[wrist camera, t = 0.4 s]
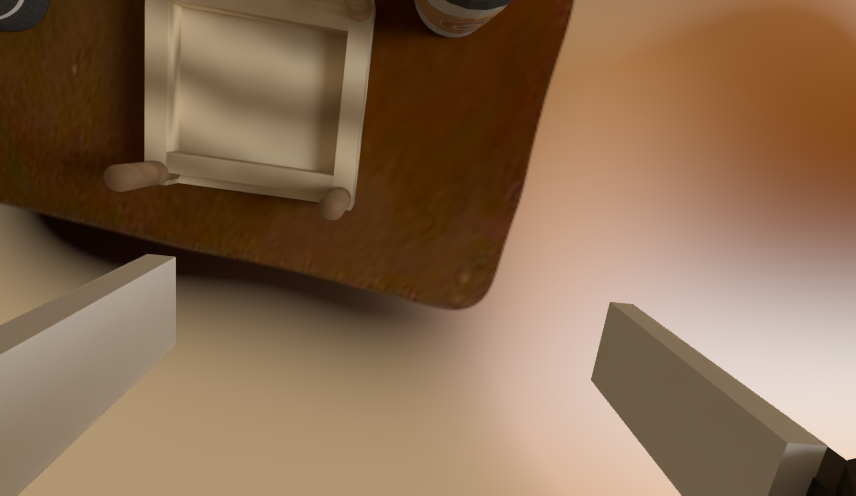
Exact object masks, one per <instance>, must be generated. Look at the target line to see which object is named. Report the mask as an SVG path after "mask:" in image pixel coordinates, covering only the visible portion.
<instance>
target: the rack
mask: <svg viewBox="0 0 856 496" xmlns="http://www.w3.org/2000/svg"><path fill="white" fill-rule="evenodd" d="M375 15H376V6H375V0H145V156H144V162H137V163H128V164H118V165H111V166H109V167H108V168H107V169H106V170H105V172H104V181H105V183H106V185H107V186H108V187H109V188H110V189H112V190H114V191H117V192H123V191H128V190H133V189H138V188H143V187H148V186H153V185H158V184H160V185H170V184H174V183H183V184H191V185H198V186H205V187H212V188H220V189H227V190H234V191H242V192H249V193H256V194H263V195H271V196H278V197H285V198H292V199H300V200H307V201H314V202H319V212H320V214H321V215H322V216H323V217H324V218H325V219H328V220H336V219H339V218H340V217H341V216H342V215H343V213H344V212H345V210H351V208H352V207H353V205H354V201H355V192H356V183H357V174H358V166H359V157H360V148H361V139H362V130H363V121H364V112H365V103H366V95H367V86H368V77H369V68H370V59H371V50H372V41H373V33H374V24H375Z"/></svg>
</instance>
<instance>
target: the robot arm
mask: <svg viewBox="0 0 856 496" xmlns="http://www.w3.org/2000/svg"><path fill="white" fill-rule="evenodd" d="M175 345H176V257H171V256H161V255H152V254H147V255H145V256H143V257H141V258H139V259H136V260H134V261H132V262H130V263H128V264H126V265H124V266H122V267H120V268H118V269H116V270H114V271H112V272H109V273H108V274H105V275H103V276H101V277H99V278H97V279H95V280H93V281H91V282H89V283H87V284H85V285H83V286H81V287H78V288H76V289H75V290H73V291H70V292H68V293H66V294H64V295H62V296H60V297H58V298H56V299H54V300H52V301H50V302H48V303H45V304H43V305H41V306H39V307H37V308H35V309H33V310H31V311H29V312H27V313H25V314H23V315H21V316H19V317H16V318H14V319H12V320H10V321H8V322H6V323H4V324H2V325H0V496H18V495H19V494H20V493H21V492H22V491H23V490H24V489H25V488H26V487H27V486H28V485H29V484H30V483H31V482H32V481H33V480H34V479H35V478H37V477H38V476H39V475H40V474H41V473H42V472H43V471H44V470H45V469H46V468H47V467H48V466H49V465H50V464H51V463H52V462H53V461H54V460H55V459H56V458H57V457H58V456H60V455H61V454H62V453H63V452H64V451H65V450H66V449H67V448H68V447H69V446H70V445H71V444H72V443H73V442H74V441H75V440H76V439H77V438H78V437H80V435H82V434H83V433H84V432H85V431H86V430H87V429H88V428H89V427H90V426H91V425H92V424H93V423H94V422H95V421H96V420H97V419H98V418H99V417H100V416H102V414H104V413H105V412H106V411H107V410H108V409H109V408H110V407H111V406H112V405H113V404H114V403H115V402H116V401H117V400H118V399H119V398H120V397H121V396H122V395H124V394H125V392H127V391H128V390H129V389H130V388H131V387H132V386H133V385H134V384H135V383H136V382H137V381H138V380H139V379H140V378H141V377H142V376H143V375H144V374H145V373H146V372H148V371H149V370H150V369H151V368H152V367H153V366H154V365H155V364H156V363H157V362H158V361H159V360H160V359H161V358H162V357H163V356H164V355H165V354H166V353H168V352H169V351H170V350H171V349H172V348H173V347H174V346H175ZM591 380H592V382H593V383H594V384H595V386H596V387H597V388H598V390H599V391H600V392H601V393H602V395H603V396H604V397H605V398H606V400H607V401H608V402H609V403H610V405H611V406H612V407H613V409H614V410H615V411H616V412H617V414H618V415H619V416H620V418H621V419H622V420H623V421H624V423H625V424H626V425H627V426H628V428H629V429H630V430H631V432H632V433H633V434H634V435H635V436H636V438H637V439H638V440H639V442H640V443H641V444H642V446H643V447H644V448H645V449H646V451H647V452H648V453H649V454H650V456H651V457H652V458H653V460H654V461H655V462H656V463H657V465H658V466H659V467H660V468H661V470H662V471H663V472H664V473H665V475H666V476H667V477H668V479H669V480H670V481H671V482H672V484H673V485H674V486H675V488H676V489H677V490H678V491H679V493H680V494H681V495H682V496H856V458H855V459H850V460H848V461H847V460H845V459H844V458H843V457H841V456H840V455H839V454H837V453H836V452H834V451H833V450H832V449H830V448H829V447H828V446H827V445H826V444H825V443H823V442H822V441H820V440H819V439H818V438H816V437H815V436H814V435H812V434H811V433H809V432H807V430H805V429H804V428H802V427H801V426H800V425H798V424H797V423H796V422H794V421H793V420H791V419H790V418H789V417H787V416H786V415H784V414H783V413H782V412H780V411H779V410H778V409H776V408H775V407H774V406H772V405H771V404H769V403H768V402H767V401H765V400H764V399H763V398H761V397H760V396H758V395H757V394H755V393H754V392H753V391H751V390H750V389H749V388H747V387H746V386H745V385H743V384H742V383H740V382H739V381H738V380H736V379H735V378H734V377H732V376H731V375H730V374H728V373H727V372H725V371H724V370H723V369H721V368H720V367H719V366H717V365H716V364H714V363H713V362H712V361H710V360H709V359H708V358H706V357H705V356H703V355H702V354H701V353H699V352H698V351H696V350H695V349H694V348H692V347H691V346H690V345H688V344H687V343H685V342H684V341H683V340H681V339H680V338H678V337H677V336H676V335H674V334H673V333H672V332H670V331H669V330H668V329H666V328H665V327H663V326H662V325H661V324H659V323H658V322H657V321H655V320H654V319H652V318H651V317H649V316H648V315H647V314H646V313H644V312H643V311H641V310H640V309H639V308H637V307H636V306H635V305H633V304H625V303H615V302H610V304H609V308H608V313H607V316H606V321H605V325H604V329H603V333H602V337H601V341H600V345H599V350H598V353H597V357H596V362H595V366H594V370H593V374H592V378H591Z"/></svg>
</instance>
